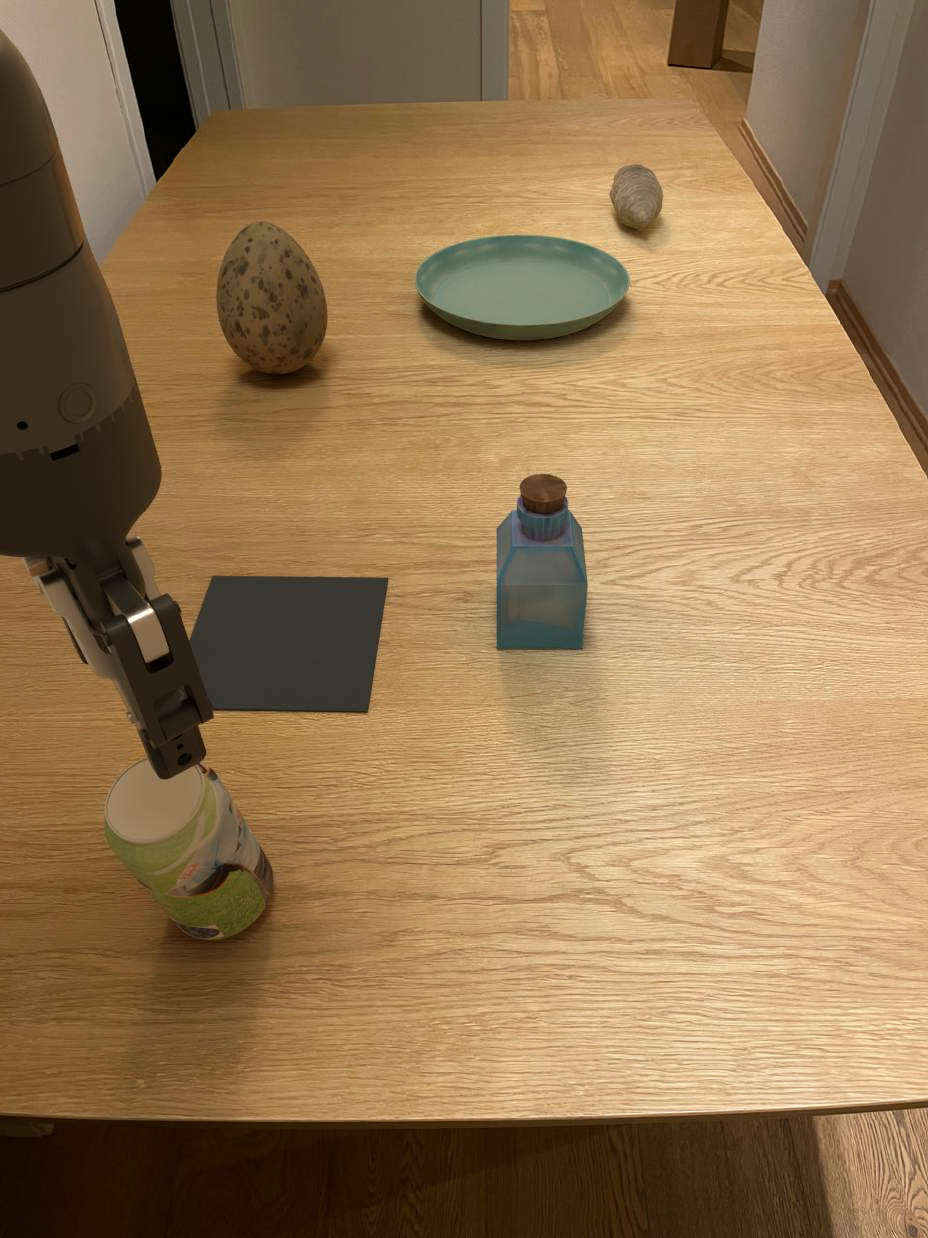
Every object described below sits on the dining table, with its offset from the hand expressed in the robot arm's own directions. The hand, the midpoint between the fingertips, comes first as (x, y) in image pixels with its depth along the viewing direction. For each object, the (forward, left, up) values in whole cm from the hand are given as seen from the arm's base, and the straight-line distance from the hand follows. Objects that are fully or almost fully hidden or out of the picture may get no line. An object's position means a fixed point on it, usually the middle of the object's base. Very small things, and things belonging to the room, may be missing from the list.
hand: (141, 706), depth 44 cm
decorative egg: (+34, +53, -17) cm, 65 cm away
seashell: (+90, +58, -17) cm, 108 cm away
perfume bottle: (+30, +7, -17) cm, 35 cm away
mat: (+14, +17, -17) cm, 28 cm away
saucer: (+63, +49, -17) cm, 82 cm away
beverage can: (0, 0, -17) cm, 17 cm away
